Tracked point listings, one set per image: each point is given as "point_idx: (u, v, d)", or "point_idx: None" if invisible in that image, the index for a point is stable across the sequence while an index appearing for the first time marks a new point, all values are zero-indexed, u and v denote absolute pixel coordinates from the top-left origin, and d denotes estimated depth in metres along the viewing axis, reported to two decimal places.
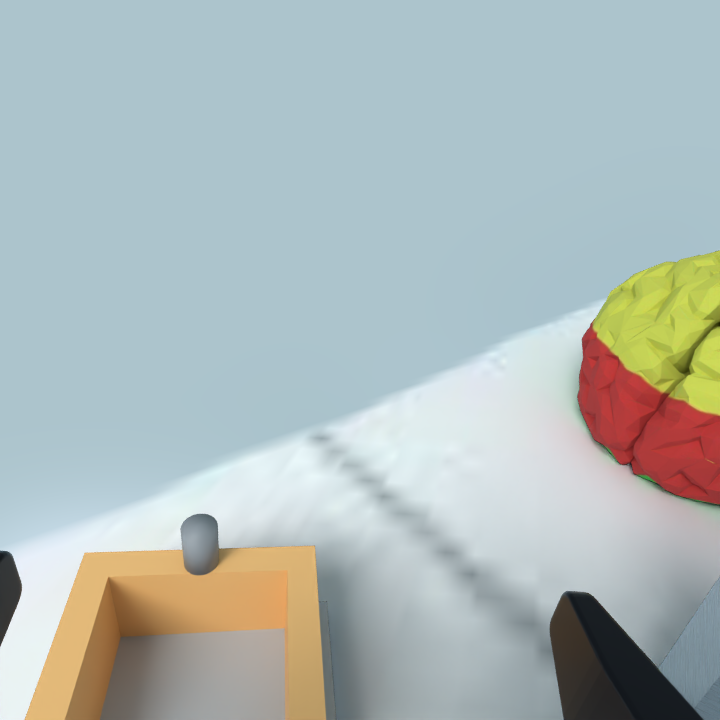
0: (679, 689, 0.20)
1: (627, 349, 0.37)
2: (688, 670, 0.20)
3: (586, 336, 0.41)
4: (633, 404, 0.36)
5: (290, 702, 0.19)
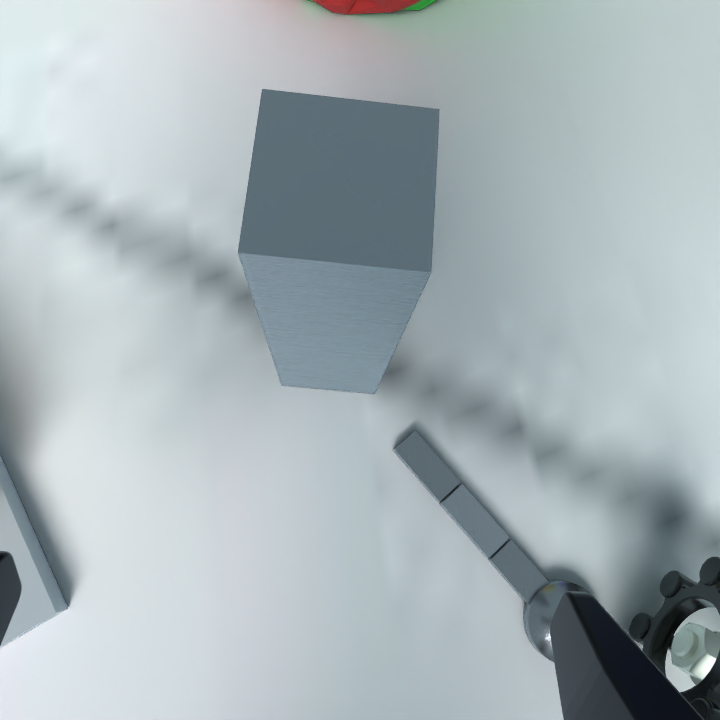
0: None
1: None
2: None
3: None
4: None
5: None
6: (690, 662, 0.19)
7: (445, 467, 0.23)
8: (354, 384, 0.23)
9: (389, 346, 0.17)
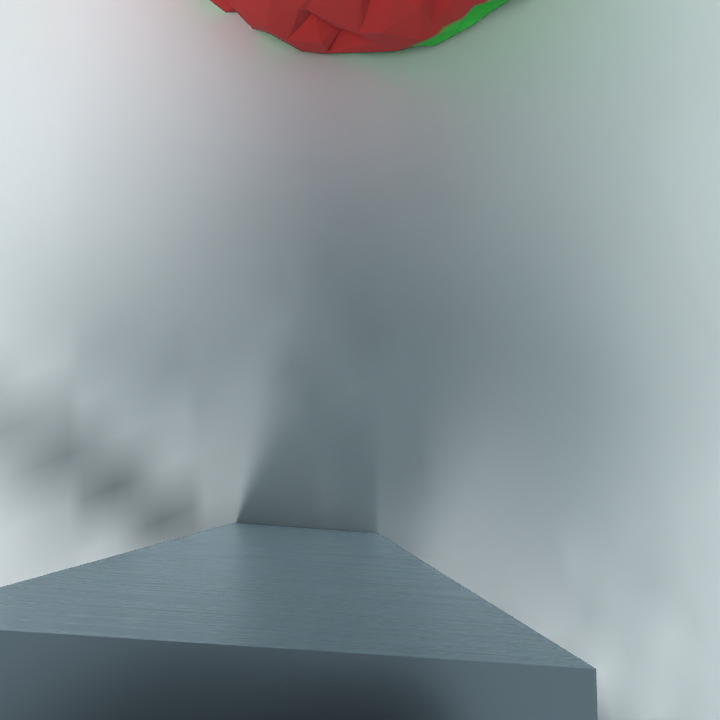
0: None
1: None
2: None
3: None
4: None
5: None
6: None
7: None
8: None
9: None
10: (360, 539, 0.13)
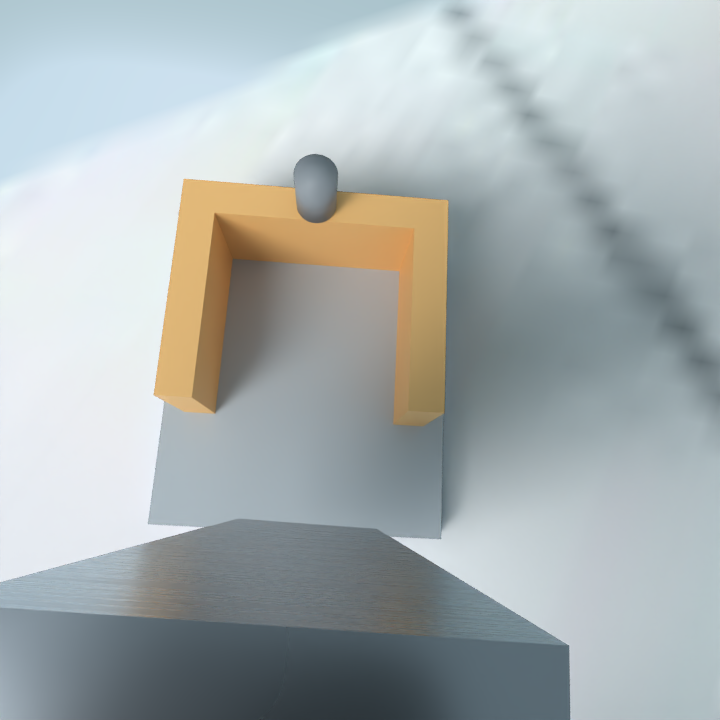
0: None
1: None
2: None
3: None
4: None
5: (410, 373, 0.19)
6: None
7: None
8: None
9: None
10: (359, 534, 0.13)
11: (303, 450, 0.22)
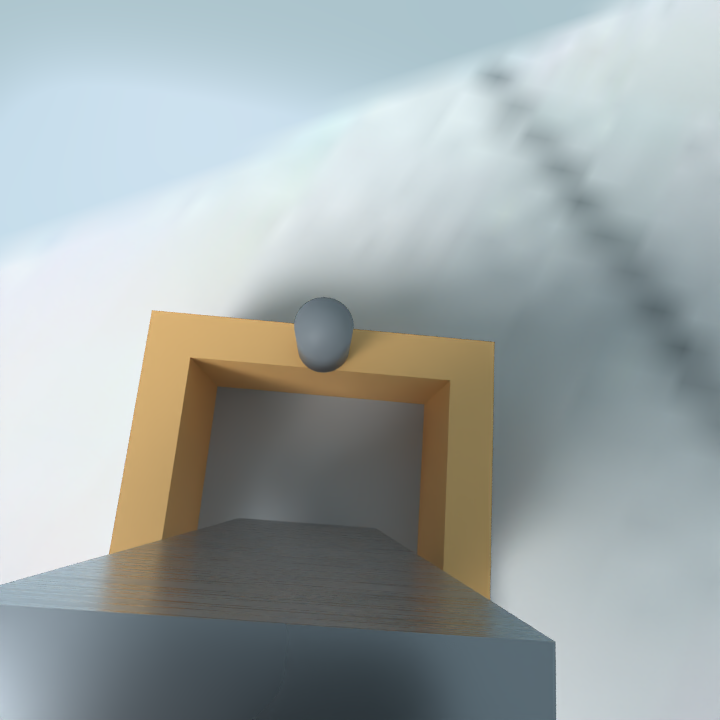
0: None
1: None
2: None
3: None
4: None
5: None
6: None
7: None
8: None
9: None
10: (359, 534, 0.13)
11: None
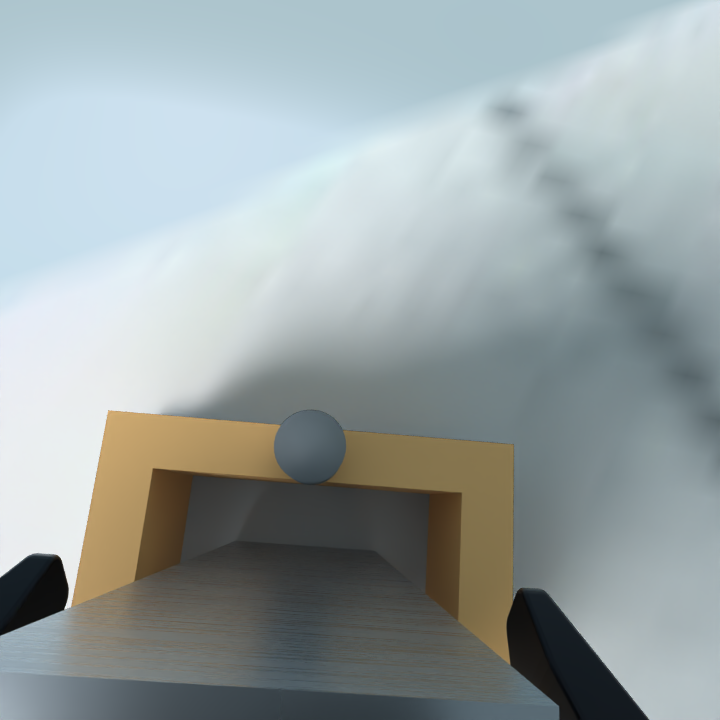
0: None
1: None
2: None
3: None
4: None
5: None
6: None
7: None
8: None
9: None
10: (357, 559, 0.13)
11: None
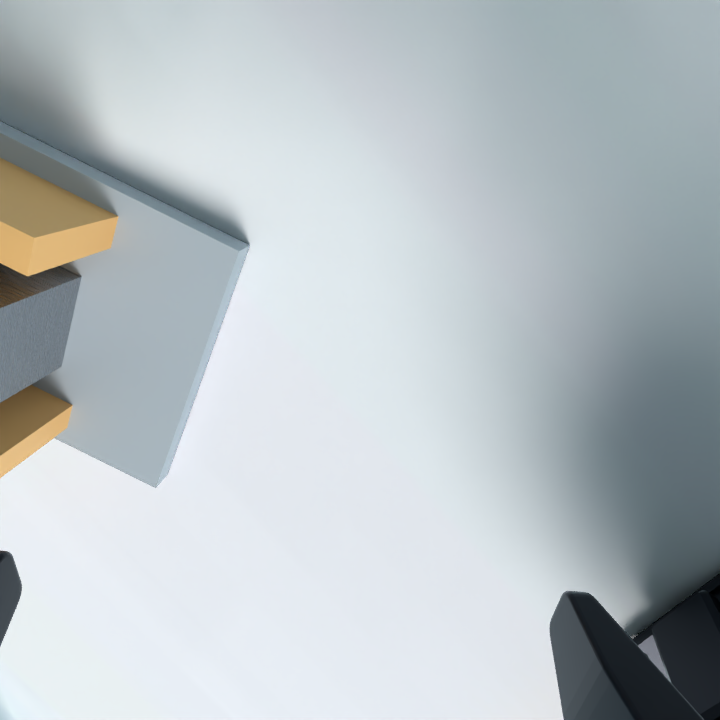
0: None
1: None
2: None
3: None
4: None
5: None
6: None
7: None
8: (47, 312, 0.19)
9: None
10: None
11: (119, 346, 0.21)
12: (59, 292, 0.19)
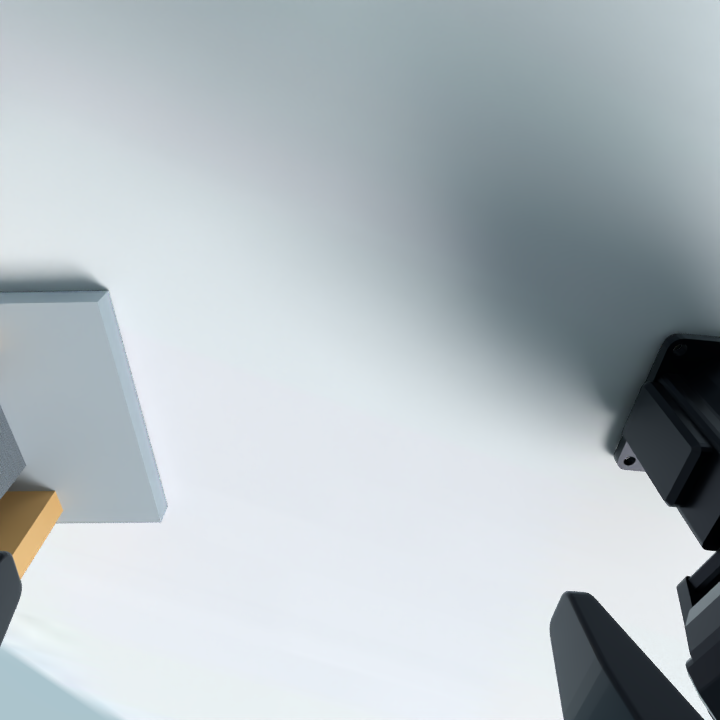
0: None
1: None
2: None
3: None
4: None
5: None
6: None
7: None
8: None
9: None
10: None
11: (58, 426, 0.23)
12: None
